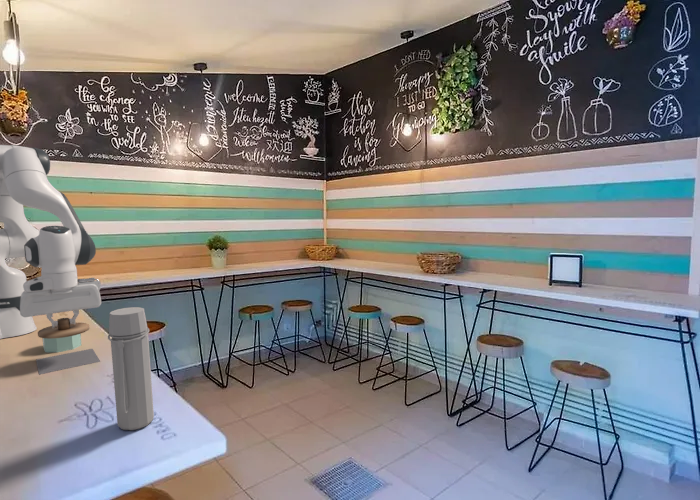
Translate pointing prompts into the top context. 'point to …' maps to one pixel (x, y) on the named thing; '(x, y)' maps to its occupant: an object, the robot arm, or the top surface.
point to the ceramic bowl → (61, 343)
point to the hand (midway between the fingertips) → (63, 326)
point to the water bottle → (131, 367)
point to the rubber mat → (66, 361)
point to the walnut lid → (63, 329)
